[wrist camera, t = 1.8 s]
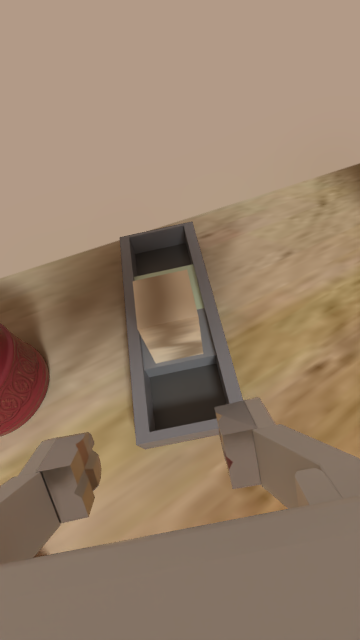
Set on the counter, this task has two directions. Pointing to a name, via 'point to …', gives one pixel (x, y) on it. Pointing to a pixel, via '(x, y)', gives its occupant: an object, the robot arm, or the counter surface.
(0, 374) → the canister
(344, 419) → the counter surface
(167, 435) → the box
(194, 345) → the block
